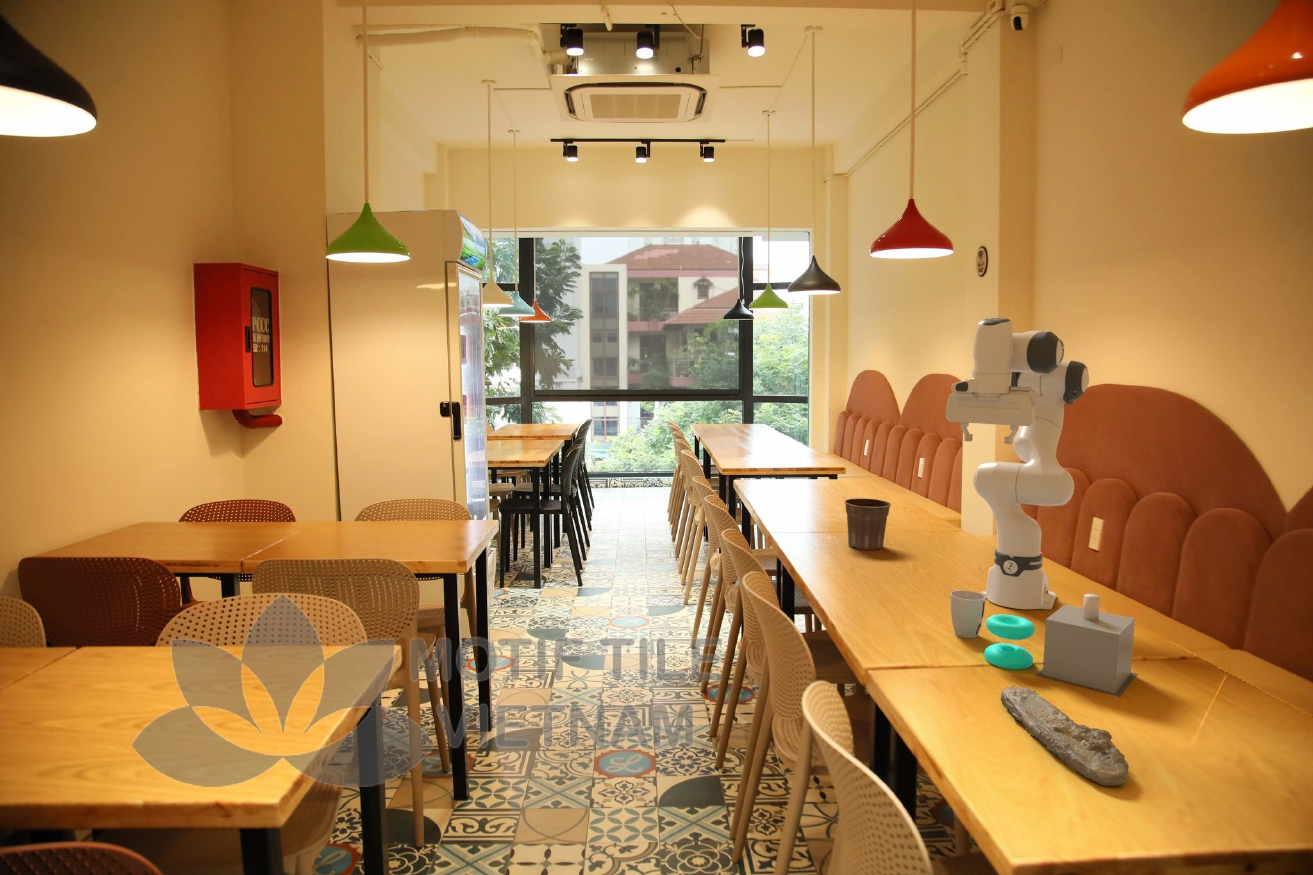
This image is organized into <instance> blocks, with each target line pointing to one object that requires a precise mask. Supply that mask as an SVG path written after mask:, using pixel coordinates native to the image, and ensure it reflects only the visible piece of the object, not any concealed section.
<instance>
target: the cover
mask: <svg viewBox="0 0 1313 875" xmlns="http://www.w3.org/2000/svg"><path fill="white" fill-rule="evenodd" d="M1100 602H1101V596H1100V595H1098V594H1093V593H1084V595H1083V607H1078V606H1074V605H1068V604H1063V606H1061V607H1060V608H1059V609H1057V610H1056V611H1055V612H1053V613H1052V614H1051V615H1049V616H1048V617H1046V619H1045V628H1044V629H1045V632H1044V646H1043V647H1044V648H1043V663H1042V669H1043V675H1044V676H1048V677H1052V678H1056V679H1060V680H1064V681H1068V682H1072V683H1076V684H1080V685H1084V686H1087V687H1091V688H1095V689H1099V690H1103V691H1107V692H1111V693H1116V692H1117V691H1118V689H1119V688H1120V687H1121V686H1122V684H1123V683H1124V682H1125V681H1126V679H1127V678H1128V677H1129V676H1130V674H1131V672H1132V663H1133V648H1134V638H1135V636H1134V634H1135V622H1136V621H1135V620H1136V618H1134V617H1131V616H1130V617H1129V616H1125V615H1119V614H1114V613H1109V612H1104V611H1100V606H1101V603H1100Z"/></svg>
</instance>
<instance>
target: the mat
mask: <svg viewBox="0 0 1313 875" xmlns="http://www.w3.org/2000/svg"><path fill="white" fill-rule="evenodd" d="M1138 675H1139V674H1138V673H1136V672H1133V671H1131V674H1130V676H1129V677H1128V678H1127V679H1126V681H1125V682H1124V683H1123V684H1122V686H1121V687H1120V688H1119V689H1118V691H1117V692H1116V693H1111V692H1107V691H1103V690H1099V689H1095V688H1091V687H1087V686H1084V685H1080V684H1076V683H1072V682H1068V681H1064V680H1060V679H1056V678H1052V677H1048V676H1044V675H1043V668H1042V669H1041V670H1039V671H1038V672H1037V673H1036V674H1035V677H1036V676H1037V677H1040V678H1044V679H1048V680H1052V681H1055V682H1060V683H1063V684H1068V685H1072V686H1075V687H1080V688H1083V689H1088V690H1090V691H1091V690H1092V691H1095V692H1099V693H1102V694H1103V693H1104V694H1106V695H1110V696H1114V697H1119V698H1121V696H1122V695H1123V694H1124V693H1125V691H1126V690H1127V689H1128V687H1129V686H1130V685H1131V684H1132V682H1133V681H1134V680H1135V678H1136V677H1137V676H1138Z"/></svg>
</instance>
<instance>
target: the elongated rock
mask: <svg viewBox="0 0 1313 875" xmlns="http://www.w3.org/2000/svg"><path fill="white" fill-rule="evenodd" d="M1000 694H1001V695H1000V700H1001V702H1002V703H1003V704H1004V707H1005V708H1006V709H1008V711H1009V713H1010V714H1011V715H1012V717H1014V718H1015V719H1016V721H1017V720H1018V721H1017V722H1019V721H1020V723H1021V722H1022V723H1021V724H1022V725H1023V727H1025V729H1026V728H1027V729H1028V730H1029V731H1028V730H1027V729H1026V730H1027V731H1028V732H1029V734H1030V736H1031V735H1032V737H1034V736H1035V737H1034V738H1035V739H1038V740H1039V741H1040V743H1042V745H1043V746H1046V749H1047V750H1048V751H1049V752H1051V751H1052V752H1051V753H1052V754H1053V755H1054V754H1055V755H1054V756H1056V755H1057V756H1058V757H1057V756H1056V757H1057V758H1058V759H1060V760H1061V761H1062V762H1063V763H1065V764H1066V765H1067V766H1068V765H1069V766H1070V767H1069V766H1068V767H1069V768H1070V769H1071V770H1072V769H1073V770H1072V771H1073V772H1075V771H1077V772H1076V773H1079V774H1081V775H1083V777H1084V778H1086V779H1089V780H1091V781H1093V782H1096V783H1098V784H1100V785H1102V786H1107V787H1109V786H1110V787H1111V786H1112V787H1116V786H1122V785H1123V784H1125V783H1126V782H1128V778H1129V775H1128V772H1129V768H1130V766H1129V763H1128V761H1127V760H1126V759H1125V757H1126V756H1125V755H1124V754H1123V753H1122V752H1121V751H1120V749H1119V748H1117V747H1116V745H1115V744H1114V742H1112V741H1111V740H1112V739H1113V738H1112V737H1113V736H1112V734H1111V733H1110V732H1109V731H1107V730H1105V729H1100V728H1093V727H1091V728H1090V727H1089V726H1086V725H1084V724H1077V723H1076V722H1075V721H1074V720H1073V719H1071V718H1070V717H1069V716H1068V715H1067V713H1064V712H1062V711H1061V709H1059V708H1057V706H1055V705H1053V704H1052V703H1051V702H1050V701H1048V700H1047V699H1045V698H1044V697H1043V696H1041V695H1040V694H1039V693H1038V692H1037V691H1036V690H1031V688H1027V687H1024V686H1015V685H1011V686H1006V687H1005V688H1004V689H1003V690H1002V691H1001V693H1000Z"/></svg>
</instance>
